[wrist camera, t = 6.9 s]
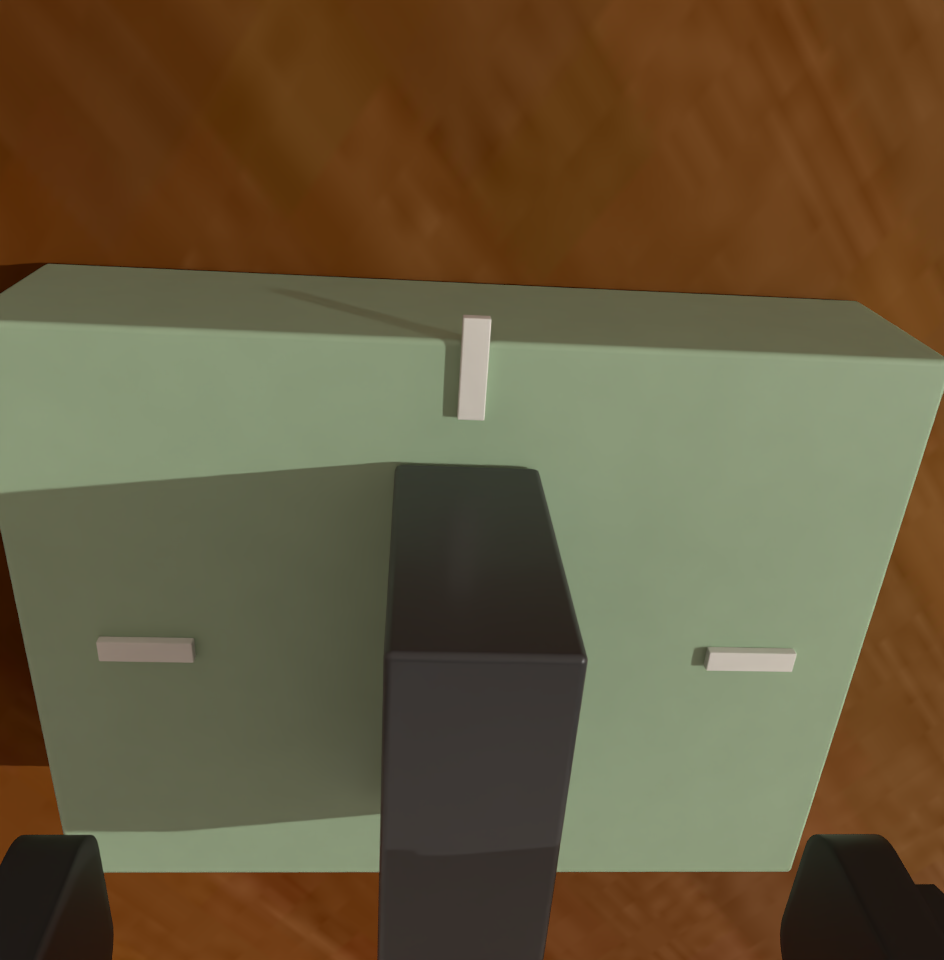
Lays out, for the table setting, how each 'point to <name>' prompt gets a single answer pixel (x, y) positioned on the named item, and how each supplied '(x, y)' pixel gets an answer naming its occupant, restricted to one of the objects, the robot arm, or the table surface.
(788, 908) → the robot arm
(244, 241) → the table surface
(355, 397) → the panel
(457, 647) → the dark gray bar
